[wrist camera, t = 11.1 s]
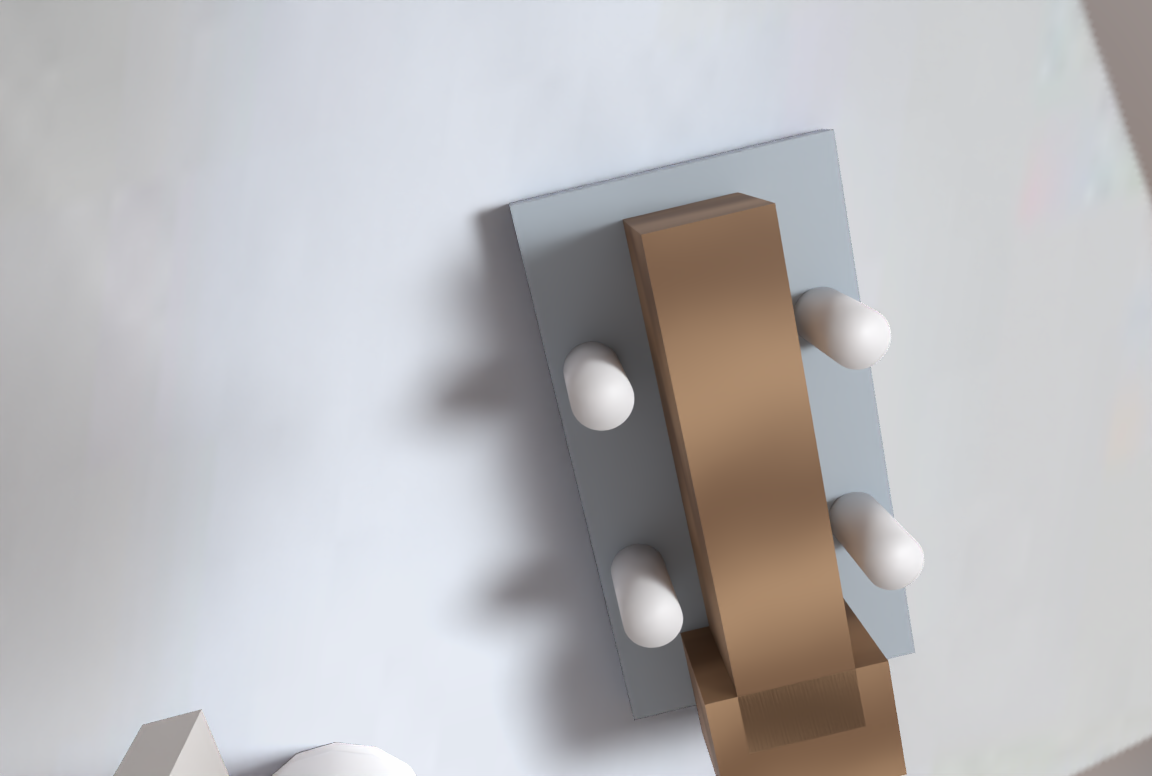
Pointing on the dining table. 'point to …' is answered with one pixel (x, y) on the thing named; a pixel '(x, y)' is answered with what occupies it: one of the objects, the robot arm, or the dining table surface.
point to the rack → (635, 415)
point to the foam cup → (345, 762)
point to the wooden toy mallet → (756, 504)
